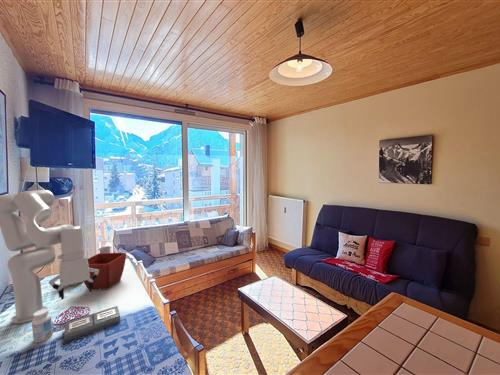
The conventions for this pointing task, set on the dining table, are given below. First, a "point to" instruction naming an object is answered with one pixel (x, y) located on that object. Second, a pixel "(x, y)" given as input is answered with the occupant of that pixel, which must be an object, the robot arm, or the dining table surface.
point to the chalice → (104, 249)
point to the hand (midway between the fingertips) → (76, 294)
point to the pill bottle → (42, 325)
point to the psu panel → (91, 323)
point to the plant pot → (106, 269)
